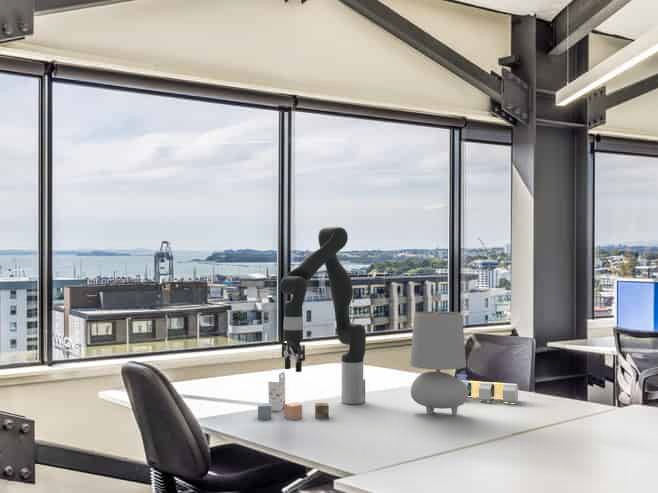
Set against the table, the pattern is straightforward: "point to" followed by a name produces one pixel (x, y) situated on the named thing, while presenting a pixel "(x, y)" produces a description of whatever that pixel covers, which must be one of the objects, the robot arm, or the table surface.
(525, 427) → the table surface
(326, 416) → the walnut block
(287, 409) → the terracotta block
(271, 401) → the ink cartridge box
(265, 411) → the slate block
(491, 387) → the diorama
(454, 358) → the table lamp
